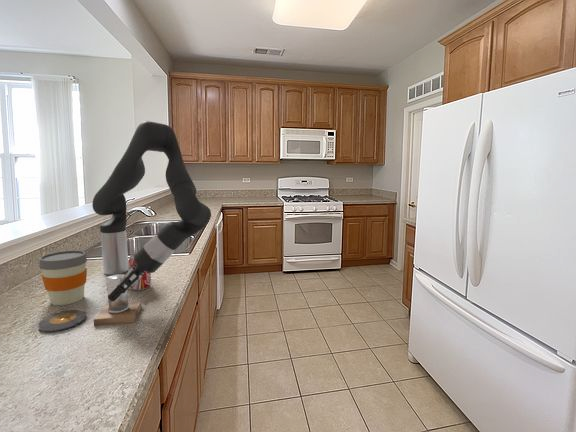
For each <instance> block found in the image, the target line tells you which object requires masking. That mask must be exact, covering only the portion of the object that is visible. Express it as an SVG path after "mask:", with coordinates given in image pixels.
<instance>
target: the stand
mask: <svg viewBox="0 0 576 432" xmlns="http://www.w3.org/2000/svg"><path fill="white" fill-rule="evenodd" d="M128 305H129V309H128V310H127V311H126V312H123V313H119V314H110V313H109V312H108V308H109V304H108V303H105V304H104V306H103V307H102V308H101V309H100V311H99V312H98V313H97V315H96V316H95V317H94V318H93V326H94V327H100V326H101V327H103V326H112V325H114V326H115V325H122V324H123V325H124V324H133V323H134V322H135V320H136V318H137V317H138V315H139V313H140V311H141V309H142V307H143V305H142V301H128Z"/></svg>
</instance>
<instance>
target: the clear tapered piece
mask: <svg viewBox="0 0 576 432" xmlns="http://www.w3.org/2000/svg"><path fill="white" fill-rule="evenodd" d="M125 275H126V274H124V273H120V274H114V275H110V276H107V277H106V290H107V304H109V308H108V312H109V313H110V314H119V313H123V312H126V311H127V310H128V309H129V305H128V302H129V298H128V289H127V290H126V292H125V293H122V294H121V295H120V296H119V297H118V298H117V299H116V300H115V301H111V300H110V299H109V298H108V296H109V294H110V293H111V292H112V291H113V290H114V289H115V288H116V287H117V285H119V284H120V283H121V282H122V278H123V277H124V276H125ZM122 286H123V287H124V288H126V287H127V285H126V284H124V283H123V284H122Z"/></svg>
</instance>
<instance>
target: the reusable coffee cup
mask: <svg viewBox="0 0 576 432" xmlns="http://www.w3.org/2000/svg"><path fill="white" fill-rule="evenodd" d="M87 262H88V259H87V255H86V252H85V251H84V250H73V249H72V250H62V251H56V252H51V253H47V254H44V255H42V256H41V257H39V264H38V265H39V269H40V270H41V273H42V274H41V280H42V283H43V286H44V289H45V291H47V294H48V298H49V301H50V304H51V305H54V306H65V305H70V304H74V303H75V304H76V303H77V302H79V301H81V300H83V299H84V298H85V286H86V285H85V284H86V283H87V273H88V269H87V268H86V265H87Z"/></svg>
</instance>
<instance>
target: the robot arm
mask: <svg viewBox="0 0 576 432" xmlns="http://www.w3.org/2000/svg"><path fill="white" fill-rule="evenodd" d="M148 151H149V152H150V151H152V152H157V153H163V154H164V155H166V157H167V159H168V162H167V166H166V169H165V180H166V184H167V186H168V188H169V190H170V191H171V194H172V196H173V200H174V205H175V209H176V213H177V214H178V216H179V217H180V220H178V221H170V222H168V223H167V224H166V225H164V226H163V227H162V228H161V229H160V231H158V232H157V233H156V234H155V235H154V236H152V237H151V238H150V239H149V240H148V241H147V242H146V243H145V244H144V245H143V246H142V247H141V248H140V249H138V251H137V252H136V253H135V254H133V255H134V260H135V262H136V263H137V265H136V264H134V265H133V266H132V267H131V268H130V269H129V270H128V261H129V253H128V238H127V200H126V197H125V194H126V193H128V192H129V191H132V190H134V188H136V187H137V186H138V185H139V183H140V182H141V181H142V180H143V178H144V176H145V173H146V168H145V167H146V166H145V163H144V160H143V156H144V154H145V153H146V152H148ZM182 155H183V154H182V152H181V148H180V145H179V142H178V137H177V136H176V133H175V131H174V129H173V128H172V127H171V126H170V125H168V124H164V123H161V122H160V123H159V122H156V121H155V122H154V121H150V120H145V121H142V122H140V123H139V124H138V126H137V127H136V129H135V131H134V134H133V136H132V137H131V140H130V142H129V144H128V146H127V148H126V151H125V152H124V153H123V155H122V157H121V158H120V160H119V161H118V162H117V164H116V166H115V167H114V168H113V171H112V173H111V174H110V176H109V177H108V179H107V180H106V182H105V183H104V184H103V185H102V186H101V187H100V188H99V189H98V191H97V192H96V193H95V194H94V197H93V200H92V211H93V212H94V213H95V214H97V215H98V216H111V218H110V219H109V220H106V221H105V222H103V223H101V224H100V226H99V232H100V244H101V245H100V246H101V255H102V269H103V274H105V275H110V276H112V275H117V274H124V273H126V274H124V275H125V276H124V277H123V278H122V282H121V283H120V284H119V285H117V287H116V288H115V289H114V290H113V291H112V292H111V293H110V294H109V296H108V295H107V299H108V298H109V299H110V300H111V301H115V300H116V299H117V298H118V297H119V296H120V295H121V294H122V293H125V292H126V290H127V291H128V290H129V289H130V287H131V286H133V285H134V284H135V283H136V281H137V280H138V279H140V278H141V277H142V276H143V274H144V273H145V271H147V272H149V273H151V274H154V273H155V272H156V271H158V269H159V268H160V267H161V266H162V265H163V264H164V263H165V262H166V261H167V260H169V258H170V257H171V256H172V254H173V253H174V252H175V251H176V250H177V249H179V247H181V245H182V244H183V243H184V242H185V240H187V239H189V238H191V237H192V236H195V234H197V233H199V232H200V231H201V230H203V229H204V228H205V227H206V226H207V224H209V222H210V220H211V217H212V211H211V209H210V208H209V207H208V206H207V205H205V204H204V203H202V201H200V200H199V199H198V197H197V188H196V186H195V183H194V182H193V180H192V177H191V176H190V174H189V172H188V170H187V168H186V165H185V163H184V159H183V156H182ZM123 283H124V284H126V285H127V287H126V288H124V287H123V286H122V284H123Z"/></svg>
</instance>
